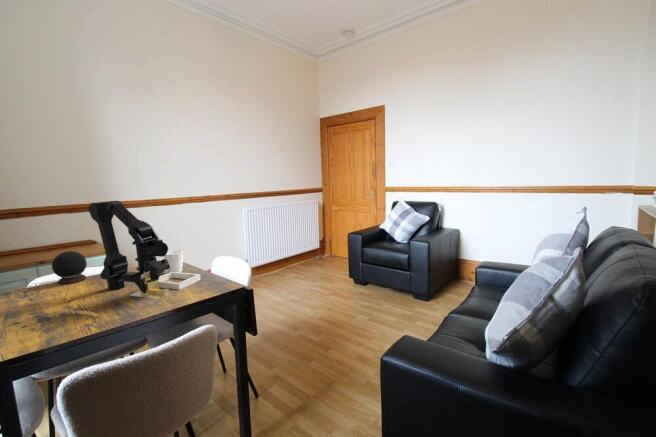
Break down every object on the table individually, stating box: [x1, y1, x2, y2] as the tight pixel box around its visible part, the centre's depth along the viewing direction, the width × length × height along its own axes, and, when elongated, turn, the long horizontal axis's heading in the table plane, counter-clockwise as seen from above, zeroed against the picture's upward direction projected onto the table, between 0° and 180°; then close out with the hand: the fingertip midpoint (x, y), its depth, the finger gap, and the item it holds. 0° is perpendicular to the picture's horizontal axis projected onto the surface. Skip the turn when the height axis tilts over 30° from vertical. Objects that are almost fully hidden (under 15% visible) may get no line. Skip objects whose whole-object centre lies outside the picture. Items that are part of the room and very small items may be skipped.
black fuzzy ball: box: [51, 250, 88, 286], centre depth 154 cm, size 13×13×15 cm
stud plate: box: [129, 288, 175, 300], centre depth 132 cm, size 16×9×4 cm, turn 71°
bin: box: [158, 272, 201, 290], centre depth 144 cm, size 17×13×4 cm
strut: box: [139, 278, 170, 297], centre depth 131 cm, size 12×5×5 cm, turn 71°
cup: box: [163, 249, 184, 273], centre depth 162 cm, size 10×10×11 cm
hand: (149, 290), depth 133 cm, fingers closed on strut, 5 cm apart
